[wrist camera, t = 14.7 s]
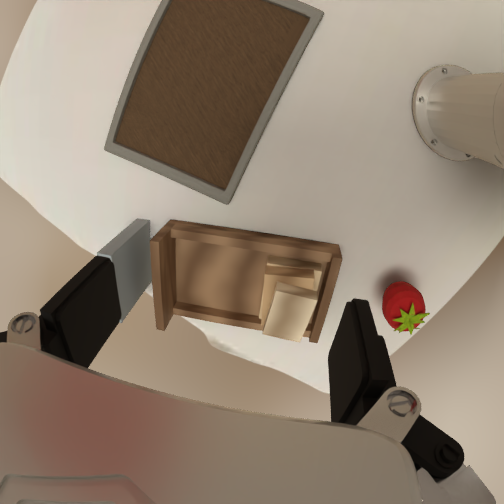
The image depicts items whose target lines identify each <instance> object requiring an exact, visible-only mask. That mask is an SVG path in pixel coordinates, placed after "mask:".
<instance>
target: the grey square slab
mask: <svg viewBox="0 0 504 504" xmlns="http://www.w3.org/2000/svg"><path fill="white" fill-rule="evenodd" d="M97 256H103V257H108V258H110V259H111V262H113V263H114V267H115V274H116V282H117V288H118V295H119V301H120V307H121V313H122V316H121V320H120V323H122V322H123V320H124V319H125V317H126V316H127V315H128V313H129V312H130V310H131V309H132V308H133V306H134V305H135V303H136V302H137V300H138V299H139V297H140V296H141V295H142V294H143V292H144V291H145V289H146V288H147V287H148V285H149V284H150V283H151V281H152V272H151V256H150V220H144V219H136V220H135V221H134V222H133V223H131V224H130V225H129V226H128V227H127V228H125V229H124V230H123V231H122V232H121V233H120V234H118V235H117V236H116V237H115V238H114V239H112V240H111V241H110V242H109V243H108V244H107V245H106V246H104V247H103V248H102V249H101V250H100V251H99V252H98V253H97Z"/></svg>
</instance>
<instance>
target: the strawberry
mask: <svg viewBox="0 0 504 504" xmlns="http://www.w3.org/2000/svg"><path fill="white" fill-rule="evenodd" d="M382 310H383V314H384V317H385V319H386V320H387V322H388V323H389V325H390V326H391V327H392V328H394V329H395V330H394V331H396V330H398V331H399V333H400V332H402V331H409V332H410V334H412V331H413V329H420V328H416V327H417V326H418V325H419V324H420V323H425V322H424V321H422V320H423V318H424V317H425V316H427V315H429V314H430V313H425V303H424V300H423V297H422V295H421V293H420V292H419V291H418V290H417V289H416V288H415V287H413V286H412V285H411V284H409V283H407V282H402V281H399V282H395V283H392V284H391V285H390V286H389V287H388V288H387V289H386V290H385V292H384V295H383V303H382Z"/></svg>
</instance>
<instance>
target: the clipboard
mask: <svg viewBox="0 0 504 504" xmlns="http://www.w3.org/2000/svg"><path fill="white" fill-rule="evenodd" d="M323 15H324V12H323V11H321V10H319V9H317V8H314V7H312V6H310V5H307V4H305V3H302V2H300V1H298V0H162V1H161V3H160V5H159V7H158V9H157V11H156V13H155V15H154V17H153V19H152V21H151V23H150V25H149V27H148V29H147V32H146V34H145V36H144V38H143V40H142V43H141V45H140V47H139V49H138V52H137V54H136V57H135V59H134V61H133V64H132V66H131V69H130V71H129V74H128V77H127V79H126V82H125V85H124V87H123V90H122V93H121V96H120V99H119V102H118V105H117V108H116V111H115V114H114V117H113V120H112V123H111V126H110V130H109V133H108V136H107V140H106V144H105V148H104V150H106V151H108V152H110V153H112V154H115V155H117V156H119V157H122V158H124V159H126V160H129V161H131V162H133V163H135V164H138V165H140V166H142V167H145V168H147V169H149V170H151V171H154V172H156V173H158V174H160V175H163V176H165V177H167V178H169V179H171V180H174V181H176V182H178V183H180V184H183V185H185V186H187V187H189V188H191V189H194V190H196V191H198V192H200V193H202V194H204V195H207V196H209V197H211V198H213V199H215V200H217V201H220V202H222V203H224V204H227V205H228V204H229V203H230V201H231V199H232V197H233V195H234V192H235V190H236V188H237V186H238V184H239V182H240V180H241V177H242V175H243V173H244V171H245V169H246V167H247V165H248V162H249V160H250V158H251V156H252V154H253V152H254V150H255V148H256V146H257V144H258V142H259V139H260V137H261V135H262V133H263V131H264V129H265V127H266V125H267V123H268V121H269V119H270V117H271V115H272V113H273V111H274V109H275V107H276V105H277V103H278V101H279V99H280V97H281V95H282V93H283V91H284V89H285V87H286V85H287V83H288V81H289V79H290V77H291V75H292V73H293V71H294V69H295V68H296V66H297V64H298V62H299V60H300V58H301V56H302V54H303V52H304V50H305V48H306V47H307V45H308V43H309V41H310V39H311V37H312V35H313V34H314V32H315V30H316V28H317V26H318V24H319V22H320V21H321V19H322V17H323Z"/></svg>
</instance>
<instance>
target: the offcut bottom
mask: <svg viewBox="0 0 504 504" xmlns="http://www.w3.org/2000/svg"><path fill="white" fill-rule="evenodd" d="M267 265H269V266H279V267H290V268H301V269H312V270H314V278H315V279H314V285H313V290H314V291H317V289H318V285H319V282H320V278H321V274H322V268H321V263H316V262H310V261H303V260H297V259H290V258H284V257H277V256H271V255H269V256H268V261H267ZM263 290H264V287H263ZM262 305H263V294H262V300H261V307H260V313H259V319H262ZM308 323H309V322H308ZM307 326H308V325H307Z"/></svg>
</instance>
